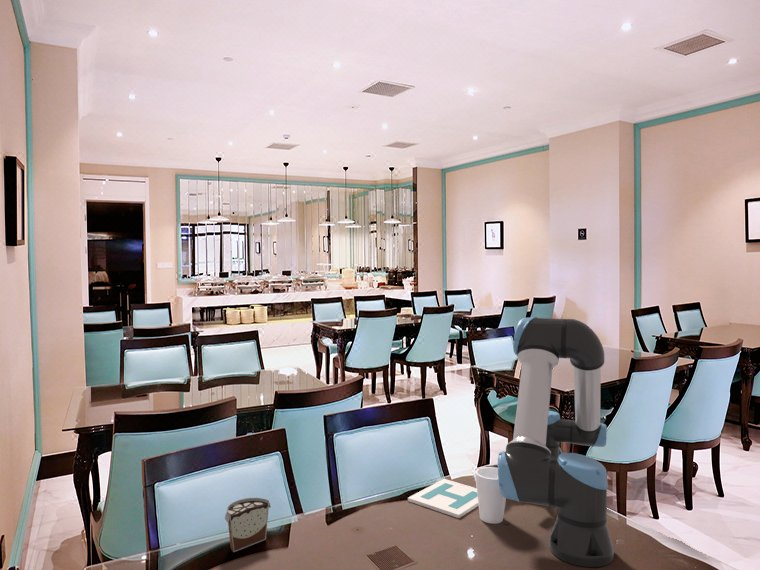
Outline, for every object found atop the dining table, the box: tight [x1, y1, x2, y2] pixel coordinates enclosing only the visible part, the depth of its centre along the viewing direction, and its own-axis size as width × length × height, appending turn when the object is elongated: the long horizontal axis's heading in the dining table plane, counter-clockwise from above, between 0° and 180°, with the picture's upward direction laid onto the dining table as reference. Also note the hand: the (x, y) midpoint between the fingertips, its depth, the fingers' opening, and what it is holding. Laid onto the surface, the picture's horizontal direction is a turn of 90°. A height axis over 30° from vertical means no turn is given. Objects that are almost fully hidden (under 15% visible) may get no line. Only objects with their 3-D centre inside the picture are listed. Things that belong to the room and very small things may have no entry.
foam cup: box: [474, 466, 507, 524], centre depth 157 cm, size 10×9×13 cm
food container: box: [224, 497, 272, 553], centre depth 143 cm, size 12×6×10 cm, turn 134°
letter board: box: [407, 478, 479, 519], centre depth 171 cm, size 18×20×1 cm
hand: (504, 485), depth 163 cm, fingers open, 13 cm apart
